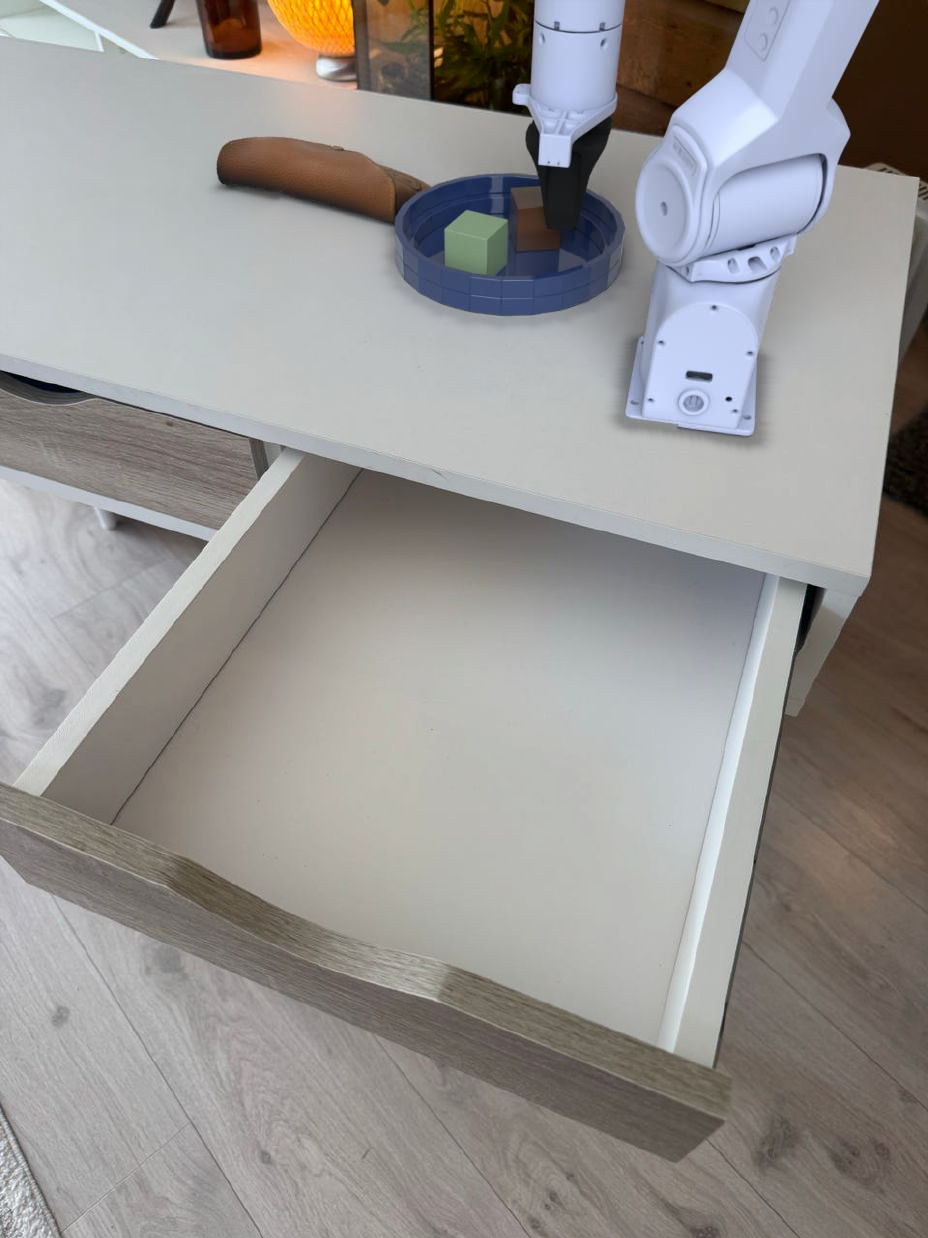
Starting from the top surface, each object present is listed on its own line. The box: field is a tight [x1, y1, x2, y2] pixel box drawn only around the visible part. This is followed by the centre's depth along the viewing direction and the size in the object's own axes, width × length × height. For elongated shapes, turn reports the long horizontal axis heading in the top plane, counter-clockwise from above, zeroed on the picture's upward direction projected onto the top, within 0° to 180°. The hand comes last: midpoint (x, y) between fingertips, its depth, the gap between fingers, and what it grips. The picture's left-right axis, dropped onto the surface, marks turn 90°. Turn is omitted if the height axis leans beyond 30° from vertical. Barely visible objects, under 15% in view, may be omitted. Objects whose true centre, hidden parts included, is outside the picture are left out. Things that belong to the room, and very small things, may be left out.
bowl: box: [394, 172, 626, 317], centre depth 71 cm, size 17×17×3 cm
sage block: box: [444, 210, 508, 276], centre depth 70 cm, size 4×4×4 cm
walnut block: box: [509, 186, 561, 252], centre depth 73 cm, size 4×4×4 cm
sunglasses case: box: [216, 136, 432, 223], centre depth 79 cm, size 18×7×7 cm
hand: (561, 225), depth 70 cm, fingers closed
